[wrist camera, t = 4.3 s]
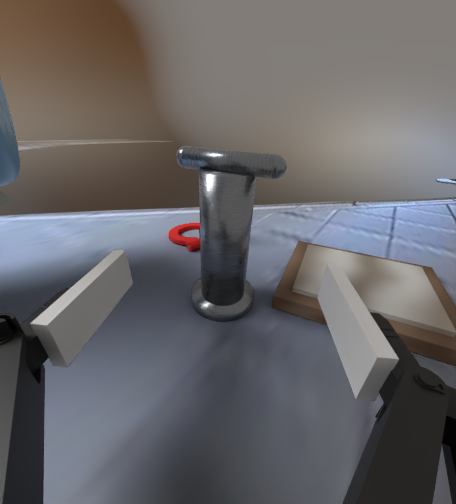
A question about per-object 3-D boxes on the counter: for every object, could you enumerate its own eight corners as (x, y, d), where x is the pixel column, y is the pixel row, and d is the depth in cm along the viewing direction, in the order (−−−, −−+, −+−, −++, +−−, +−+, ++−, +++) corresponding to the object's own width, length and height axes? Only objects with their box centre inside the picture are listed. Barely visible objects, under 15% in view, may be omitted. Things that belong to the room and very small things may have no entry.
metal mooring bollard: (170, 307, 23) (152, 149, 15) (198, 271, 28) (195, 141, 20) (254, 333, 20) (281, 163, 13) (268, 289, 25) (293, 150, 18)
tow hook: (161, 235, 39) (186, 255, 32) (150, 153, 33) (177, 157, 27) (203, 225, 43) (233, 241, 37) (200, 152, 38) (233, 154, 31)
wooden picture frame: (271, 307, 23) (274, 291, 22) (297, 249, 34) (299, 237, 33) (476, 372, 17) (491, 355, 16) (426, 277, 28) (433, 264, 27)
